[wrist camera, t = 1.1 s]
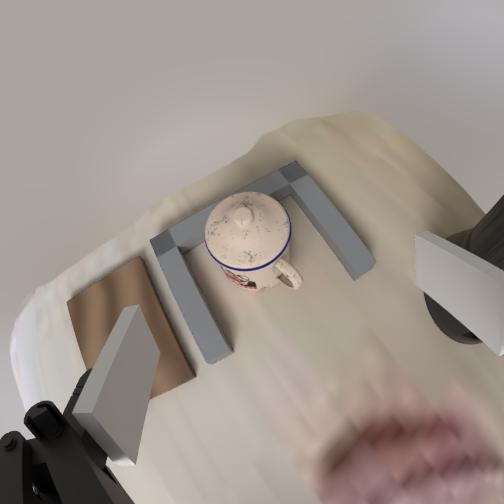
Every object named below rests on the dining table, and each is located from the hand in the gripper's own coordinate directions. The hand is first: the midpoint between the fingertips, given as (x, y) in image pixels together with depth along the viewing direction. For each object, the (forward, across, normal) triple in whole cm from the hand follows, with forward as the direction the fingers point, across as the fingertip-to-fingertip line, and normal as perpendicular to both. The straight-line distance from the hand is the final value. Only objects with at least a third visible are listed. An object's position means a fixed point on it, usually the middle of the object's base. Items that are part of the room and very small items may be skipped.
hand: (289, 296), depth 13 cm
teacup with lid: (+25, 0, -9) cm, 26 cm away
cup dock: (+26, 0, -8) cm, 27 cm away
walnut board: (+22, -20, -13) cm, 32 cm away
